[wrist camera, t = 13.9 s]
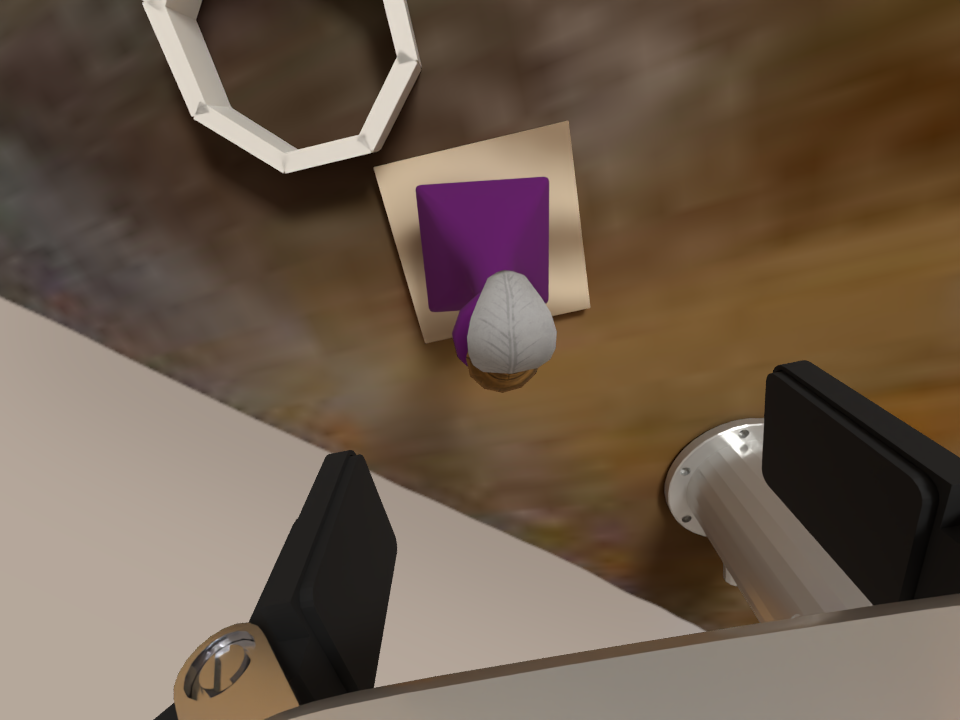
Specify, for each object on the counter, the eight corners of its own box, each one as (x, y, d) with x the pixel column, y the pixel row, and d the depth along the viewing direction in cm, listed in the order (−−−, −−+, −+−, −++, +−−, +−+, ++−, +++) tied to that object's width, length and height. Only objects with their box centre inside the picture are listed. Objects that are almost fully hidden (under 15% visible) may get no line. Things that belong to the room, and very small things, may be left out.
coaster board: (587, 303, 34) (590, 307, 33) (425, 339, 34) (425, 343, 34) (565, 121, 28) (568, 120, 28) (375, 166, 29) (373, 167, 28)
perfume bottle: (540, 288, 32) (624, 446, 16) (431, 296, 32) (405, 463, 16) (540, 171, 29) (646, 221, 13) (419, 180, 29) (369, 240, 13)
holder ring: (437, 136, 28) (435, 137, 26) (244, 183, 29) (223, 188, 26) (374, -136, 23) (363, -172, 20) (139, -71, 24) (98, -97, 21)
